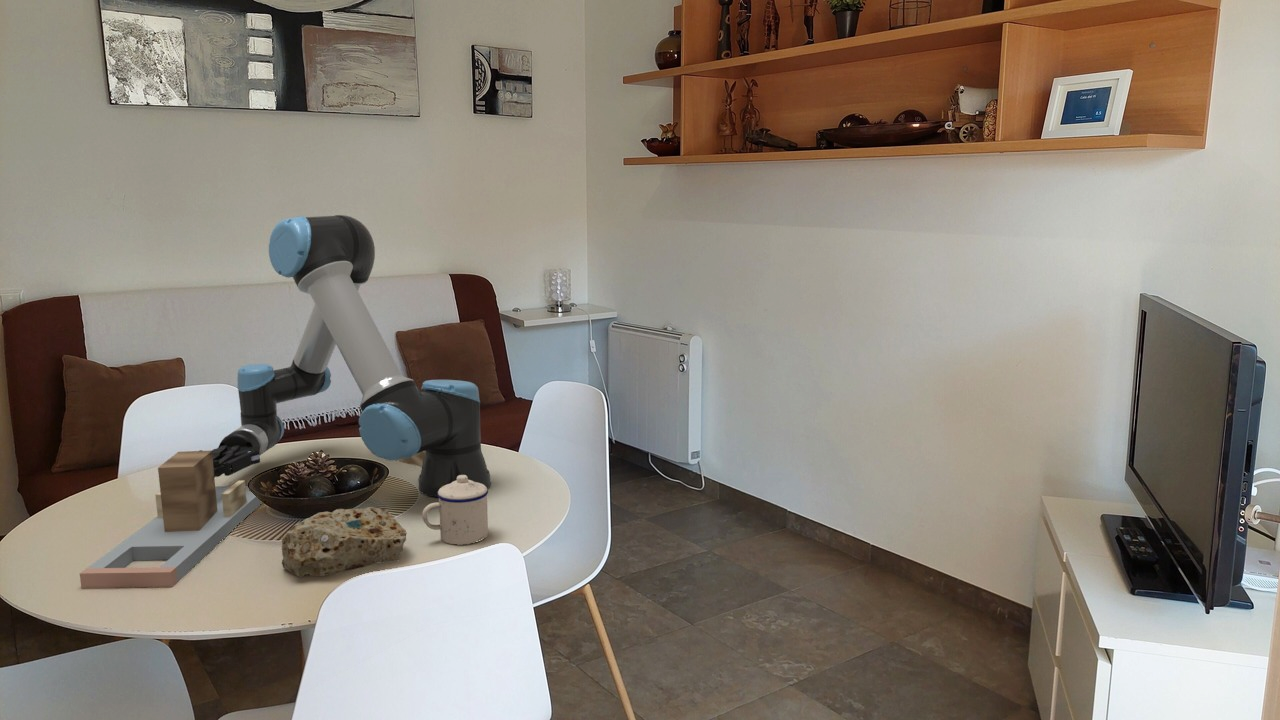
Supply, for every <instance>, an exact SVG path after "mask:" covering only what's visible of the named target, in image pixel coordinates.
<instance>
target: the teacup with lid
mask: <svg viewBox="0 0 1280 720" xmlns="http://www.w3.org/2000/svg"><path fill="white" fill-rule="evenodd" d="M488 494H489V490H488V489H487V488H486V486H485V485H483V484H481V483H477V482H474V481H471V480H468V477H467V476H466V475H459V476H457V480H456V481H453V482H452V483H450V484H447V485H445V486H443V487H441V488H440V489H439V491H438V494H437V496H438V497H437V498H438V502H437V501H436V502H432V503H429V504H428V505H426V506H425V507H424V508H423V511H422V520H423V523H424V524H425V525H426V526H427V527H428V528H429V529H431V530H435V531H436V530H437V531H438V530H439V532H440V533H439V534H440V535H439V536H440V539H441V541H442V542H444V543H446V544H448V545H449V544H450V545H453V544H457V545H456V546H464V545H463V544H467V545H471V544H470V543H473V544H475V543H474V542H476V541H479V540H481V539H483V538H485V537H486V536H487V537H488V535H489V521H488V519H489V517H488V496H487V495H488ZM435 508H438V510H439V524H432V523H430V522H429V520H428V513H429V512H430V510H433V509H435ZM487 537H486V538H487ZM486 538H485V539H486Z"/></svg>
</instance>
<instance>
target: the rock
mask: <svg viewBox="0 0 1280 720" xmlns="http://www.w3.org/2000/svg"><path fill="white" fill-rule="evenodd" d="M406 541H407V531H406V529H405V528H404V527H403V526H402V525H401V524H400V523H399V522H398V521H397V520H396V519H395V518H394V516H393V515H392V514H391V513H390V511H389V510H388V509H386V508H379V507H378V508H377V507H374V506H369V507H363V508H347V509H345V508H337V509H335V510H333V511H332V512H330V511H323V512H317V513H316V514H314V515H312V516H310V517H307V518H305V519H304V520H301V521H300V522H298V523H296V524H294V525H293V526H292V527H291V529H289V530H288V531H286V533H285V534H284V535H283V537H282V539H281V555H282V560H281V565H282V568H283V569H284V570H286V571H288V572H290V573H291V574H293V575H295V576H297V577H304V575H311V577H312V576H313V577H315V576H316V577H317V576H320V577H324V576H330V575H333V574H338V573H343V572H347V571H352V570H356V569H361V568H364V567H368V566H370V565H373V564H377V563H380V564H385V563H388V562H389V563H390V562H398V561H399V560H400V559H401V553H402V551H403V549H404V543H405V542H406Z"/></svg>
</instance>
